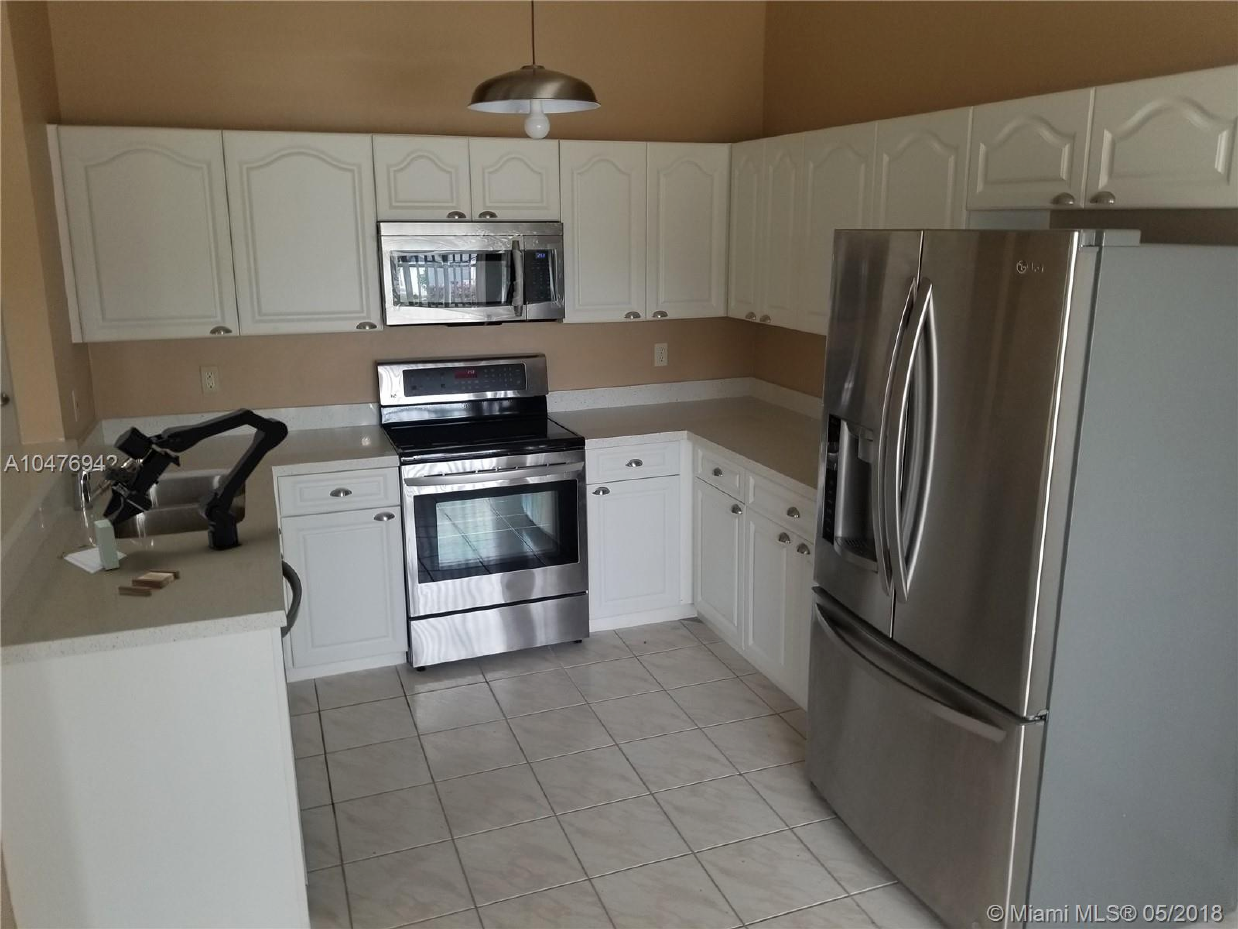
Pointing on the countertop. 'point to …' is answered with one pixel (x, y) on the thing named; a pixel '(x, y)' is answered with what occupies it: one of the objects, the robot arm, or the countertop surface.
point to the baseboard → (88, 559)
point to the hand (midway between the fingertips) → (108, 521)
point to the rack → (147, 584)
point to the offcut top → (157, 576)
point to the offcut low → (168, 580)
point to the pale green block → (106, 544)
